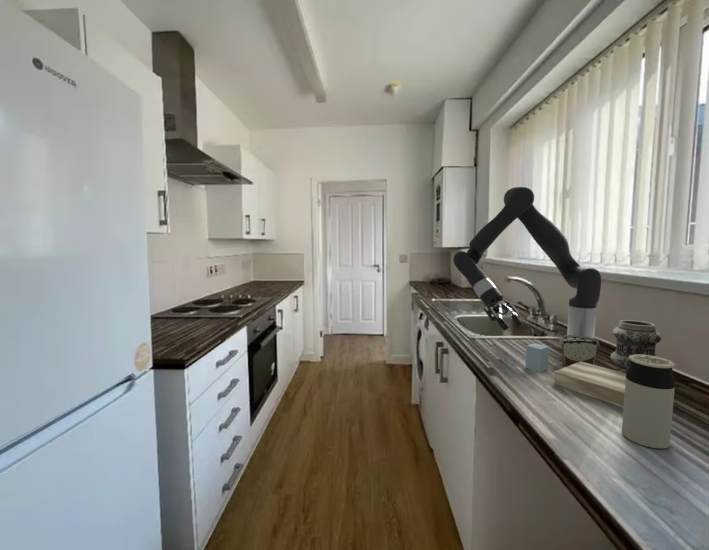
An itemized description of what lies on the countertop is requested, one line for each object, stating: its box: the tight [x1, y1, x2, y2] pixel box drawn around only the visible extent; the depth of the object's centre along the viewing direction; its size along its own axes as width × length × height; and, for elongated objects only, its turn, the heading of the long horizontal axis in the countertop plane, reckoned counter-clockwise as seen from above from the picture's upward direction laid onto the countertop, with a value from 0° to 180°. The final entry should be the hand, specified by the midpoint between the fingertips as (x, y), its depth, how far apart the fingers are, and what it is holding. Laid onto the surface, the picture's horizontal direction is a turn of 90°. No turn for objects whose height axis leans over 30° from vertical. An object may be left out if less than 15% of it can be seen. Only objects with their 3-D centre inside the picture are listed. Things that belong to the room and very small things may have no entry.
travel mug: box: [621, 354, 676, 449], centre depth 73 cm, size 8×8×18 cm
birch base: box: [553, 361, 626, 409], centre depth 99 cm, size 16×18×4 cm
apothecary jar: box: [610, 319, 662, 373], centre depth 106 cm, size 12×12×18 cm
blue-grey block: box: [524, 342, 550, 373], centre depth 115 cm, size 5×5×8 cm
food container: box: [559, 334, 600, 368], centre depth 119 cm, size 12×6×10 cm, turn 84°
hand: (514, 327), depth 122 cm, fingers open, 8 cm apart
